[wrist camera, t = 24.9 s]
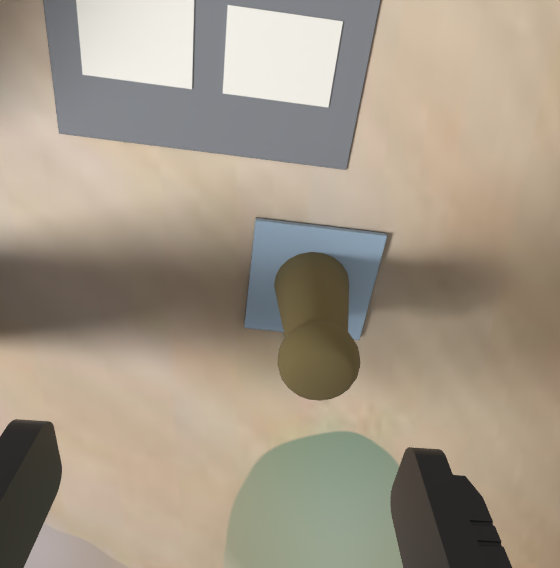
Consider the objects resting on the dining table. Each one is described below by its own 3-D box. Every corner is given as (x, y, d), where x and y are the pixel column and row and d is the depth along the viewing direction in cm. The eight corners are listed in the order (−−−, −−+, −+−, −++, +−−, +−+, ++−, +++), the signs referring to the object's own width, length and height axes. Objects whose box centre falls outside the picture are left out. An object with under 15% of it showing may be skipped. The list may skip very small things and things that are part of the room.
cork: (302, 238, 35) (308, 323, 26) (364, 276, 37) (391, 369, 28) (259, 293, 38) (251, 389, 29) (319, 327, 40) (330, 428, 30)
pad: (244, 324, 40) (244, 327, 40) (255, 217, 35) (255, 220, 35) (358, 336, 41) (359, 340, 40) (385, 233, 36) (387, 236, 35)
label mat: (59, 133, 32) (58, 133, 32) (31, -110, 25) (29, -111, 25) (345, 169, 33) (346, 170, 33) (390, -54, 26) (391, -55, 26)
